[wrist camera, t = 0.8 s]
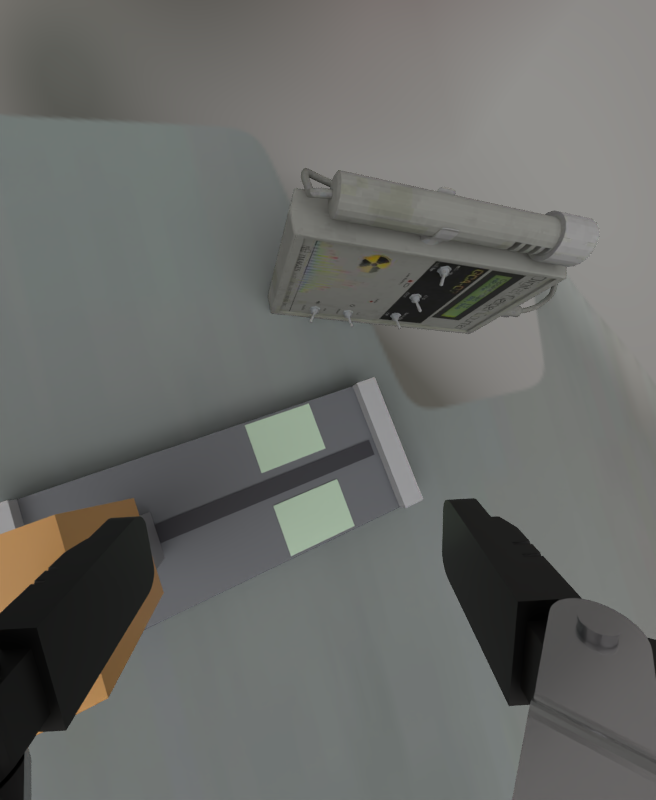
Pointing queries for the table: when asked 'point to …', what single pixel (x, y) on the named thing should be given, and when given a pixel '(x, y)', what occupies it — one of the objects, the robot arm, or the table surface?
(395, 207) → the geiger counter
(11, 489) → the table surface
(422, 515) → the table surface
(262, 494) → the console
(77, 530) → the panel
